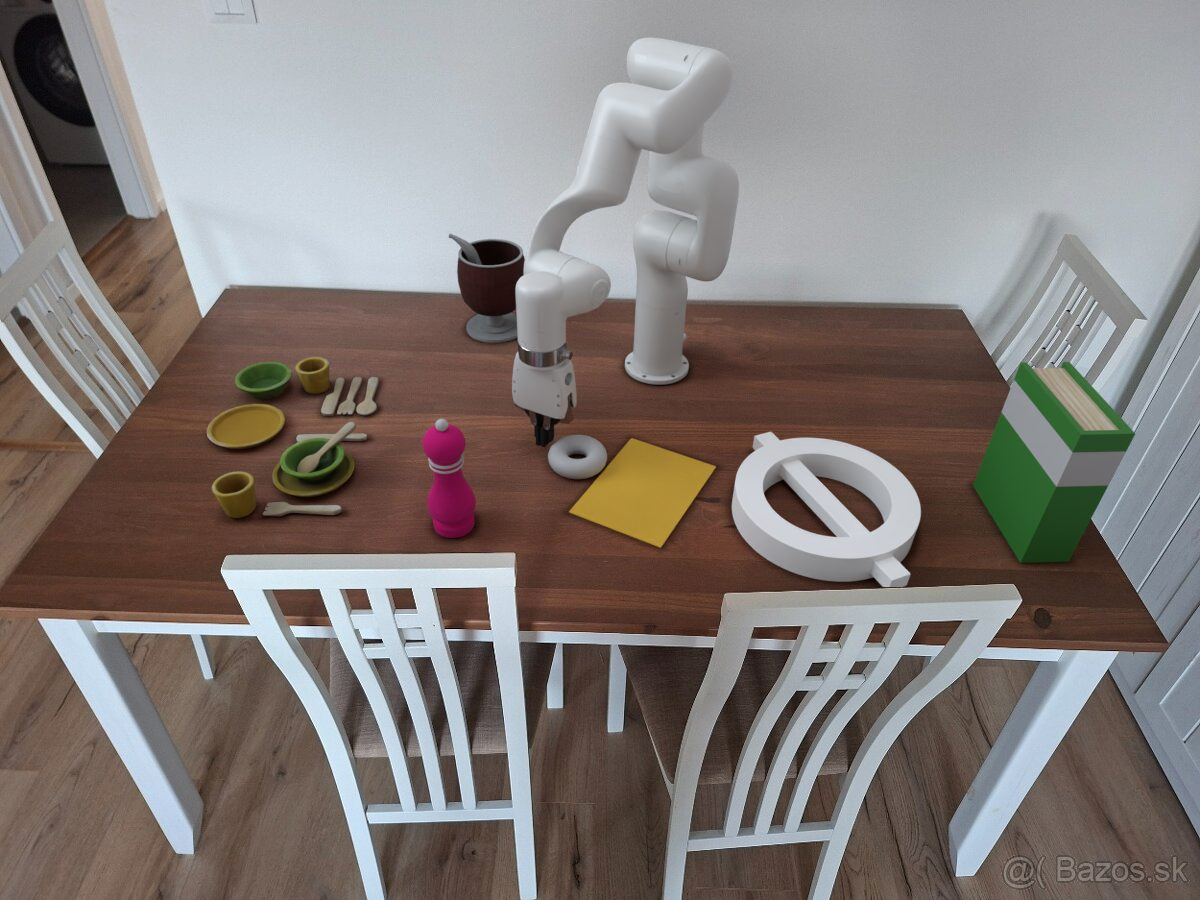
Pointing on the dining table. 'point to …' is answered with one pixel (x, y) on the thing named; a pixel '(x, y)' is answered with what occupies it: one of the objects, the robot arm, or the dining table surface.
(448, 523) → the pepper mill
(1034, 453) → the hardback book
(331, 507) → the tableware set
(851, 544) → the ring with crossbar
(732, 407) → the dining table surface
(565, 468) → the donut
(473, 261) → the mate gourd
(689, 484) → the cloth
